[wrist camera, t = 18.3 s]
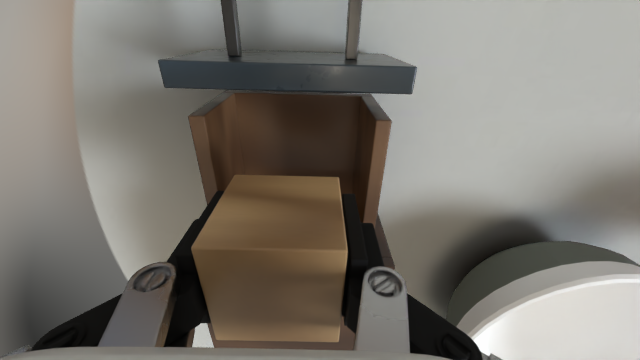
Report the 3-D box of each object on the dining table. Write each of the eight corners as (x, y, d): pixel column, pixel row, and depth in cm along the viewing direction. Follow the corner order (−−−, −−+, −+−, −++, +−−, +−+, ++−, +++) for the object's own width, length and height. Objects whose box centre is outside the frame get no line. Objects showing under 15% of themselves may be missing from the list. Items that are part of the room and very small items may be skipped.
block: (245, 252, 13) (215, 340, 10) (234, 173, 11) (189, 247, 7) (334, 254, 14) (339, 343, 10) (339, 176, 11) (348, 251, 8)
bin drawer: (193, -68, 15) (109, -133, 9) (400, -62, 15) (452, -120, 9) (237, 215, 24) (210, 276, 18) (363, 218, 24) (378, 279, 18)
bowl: (651, 230, 26) (776, 306, 19) (528, 338, 35) (582, 419, 28) (481, 184, 24) (551, 252, 17) (395, 313, 32) (416, 395, 25)
